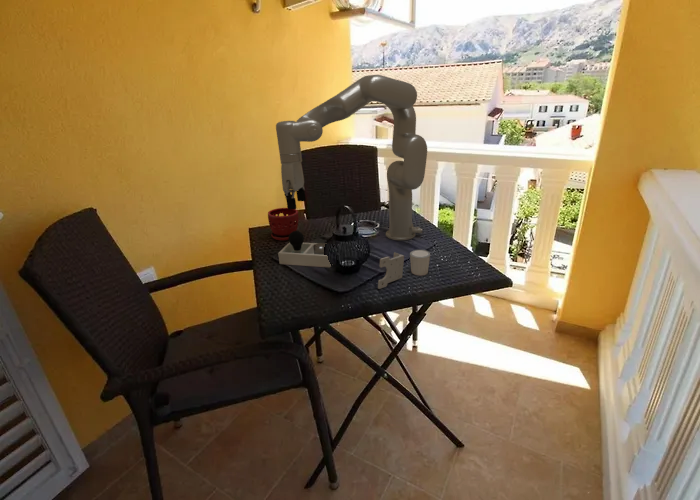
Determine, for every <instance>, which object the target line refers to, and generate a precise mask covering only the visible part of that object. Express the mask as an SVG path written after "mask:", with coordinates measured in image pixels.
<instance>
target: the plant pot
mask: <svg viewBox="0 0 700 500" xmlns="http://www.w3.org/2000/svg"><path fill="white" fill-rule="evenodd" d="M281 214H282V215H281ZM299 218H300V217H299V211H298V209H297V208H296V209H288V208H287V207H279V208H273V209H271V210H269V211H268V212H267V220H268V224H269V228H270V230H271V234H270V235H271V237H272V239H274V240H277V241H289V239H288V238H289V235H290V233H292V232H293V231H298V226H299Z"/></svg>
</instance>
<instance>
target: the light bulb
mask: <svg viewBox="0 0 700 500" xmlns="http://www.w3.org/2000/svg"><path fill="white" fill-rule="evenodd" d="M288 239H289V240H288V243H289V242H290V244H291V245H292V246H293V249H294V251H295V253H301V246H302V243H305V236H304V234H303V233H302V232H301V231H299V230H296V231H293V232H292V233H290V235H289V238H288Z"/></svg>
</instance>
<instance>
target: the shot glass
mask: <svg viewBox="0 0 700 500" xmlns="http://www.w3.org/2000/svg"><path fill="white" fill-rule="evenodd" d="M409 258H410V259H409V260H410V270H411V271H410V272H411V274H413V275H415V276H425V275H428V273H429V266H430V259H431V253H430V251H428V250H425V249H414V250H412V251H410V252H409Z"/></svg>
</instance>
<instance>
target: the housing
mask: <svg viewBox="0 0 700 500" xmlns="http://www.w3.org/2000/svg"><path fill="white" fill-rule="evenodd" d="M325 244H326V243H324V242H319V243H317V242H316V243H315V242H303V243H302V246H301V253H295V251H294V249H293V246H292V245H291V244H290V242H289V241H288V243H287V244H286V245H285V246H284V247H283V248H282V249H281V250H280V251H279V252H278V253H277V254H278V260H279V261H278V262H279V264H280V265H288V266H289V265H290V266H303V267H305V266H306V267H318V268H319V267H320V268H331V267H332V266H331V264H330V262H329V260H328V256H327V255H324V247H325Z"/></svg>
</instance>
